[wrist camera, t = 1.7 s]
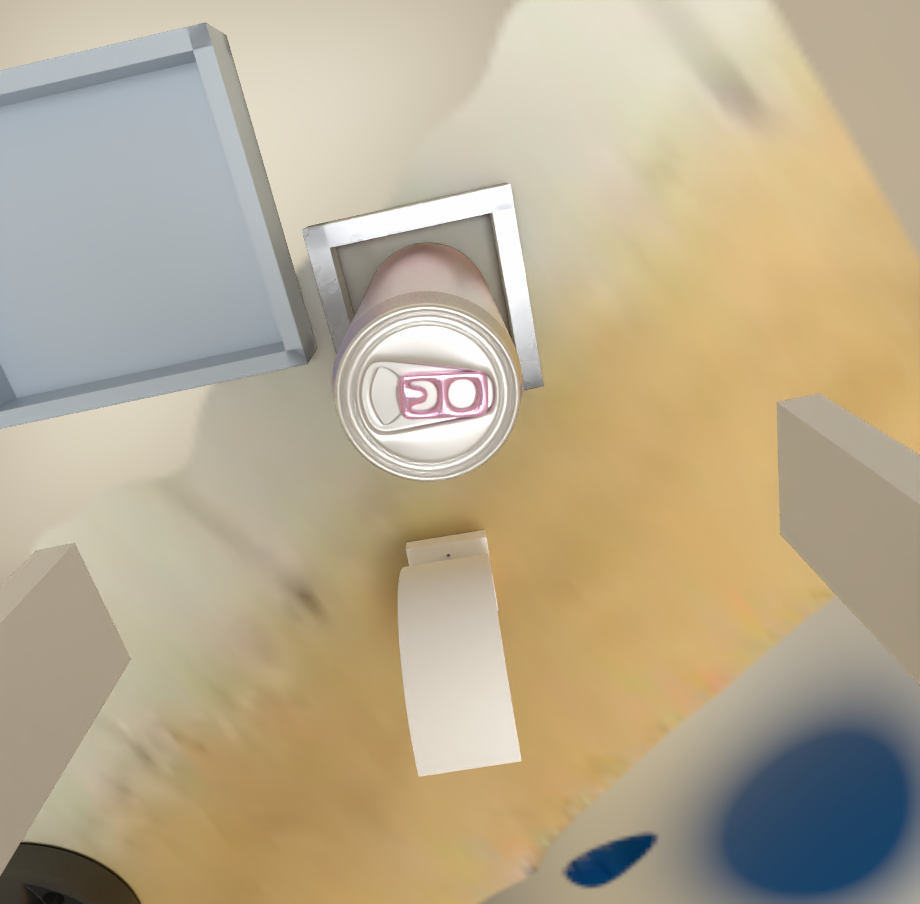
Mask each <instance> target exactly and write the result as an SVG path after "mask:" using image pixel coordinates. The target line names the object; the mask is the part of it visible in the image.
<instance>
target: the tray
mask: <svg viewBox="0 0 920 904" xmlns="http://www.w3.org/2000/svg"><path fill="white" fill-rule="evenodd" d="M316 349H317V346H316V343H315V340H314V336H313V333H312V329H311V326H310V322H309V319H308V315H307V312H306V309H305V305H304V302H303V298H302V295H301V291H300V288H299V284H298V281H297V277H296V274H295V271H294V267H293V264H292V260H291V257H290V253H289V250H288V247H287V243H286V240H285V236H284V233H283V229H282V226H281V222H280V219H279V216H278V212H277V209H276V205H275V202H274V198H273V195H272V192H271V188H270V184H269V181H268V177H267V174H266V171H265V167H264V164H263V160H262V157H261V153H260V150H259V146H258V143H257V140H256V136H255V133H254V129H253V126H252V122H251V119H250V115H249V112H248V109H247V105H246V102H245V98H244V95H243V91H242V88H241V84H240V81H239V77H238V74H237V71H236V67H235V64H234V60H233V57H232V53H231V50H230V46H229V43H228V40H227V36H226V35H225V34H223V33H222V32H220V31H219V30H217V29H215V28H214V27H212V26H210V25H209V24H207V23H202V24H198V25H193V26H189V27H184V28H180V29H177V30H172V31H167V32H163V33H159V34H154V35H150V36H146V37H142V38H138V39H133V40H129V41H124V42H120V43H116V44H112V45H107V46H103V47H99V48H95V49H90V50H86V51H81V52H77V53H73V54H69V55H64V56H60V57H56V58H52V59H47V60H43V61H39V62H34V63H30V64H26V65H21V66H17V67H13V68H9V69H4V70H0V429H2V428H7V427H11V426H16V425H21V424H25V423H30V422H35V421H39V420H44V419H49V418H54V417H58V416H63V415H68V414H73V413H77V412H82V411H86V410H92V409H97V408H101V407H105V406H110V405H115V404H120V403H124V402H129V401H134V400H139V399H144V398H149V397H153V396H158V395H163V394H167V393H172V392H176V391H182V390H187V389H191V388H196V387H201V386H205V385H210V384H215V383H220V382H224V381H229V380H234V379H239V378H243V377H248V376H253V375H258V374H262V373H267V372H272V371H276V370H281V369H286V368H291V367H295V366H300V365H305V364H308V362H309V361H310V359H311V357H312V356H313V354H314V352H315V351H316Z"/></svg>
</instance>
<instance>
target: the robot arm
mask: <svg viewBox="0 0 920 904" xmlns="http://www.w3.org/2000/svg"><path fill="white" fill-rule="evenodd" d="M777 435H778V471H779V508H780V535H781V536H782V537H783V538H784V539H785V540H786V541H787V542H788V543H789V544H790V545H791V547H792V548H793V549H794V550H795V551H796V552H797V553H798V554H799V555H800V556H801V557H802V558H803V560H804V561H805V562H806V563H807V564H808V565H809V566H810V567H811V568H812V569H813V570H814V572H815V573H816V574H817V575H818V576H819V577H820V578H821V579H822V580H823V581H824V582H825V583H826V585H827V586H828V587H829V588H830V589H831V590H832V591H833V592H834V593H835V594H836V595H837V597H838V598H839V599H840V600H841V601H842V602H843V603H844V604H845V605H846V606H847V607H848V608H849V609H850V611H851V612H852V613H853V614H854V615H855V616H856V617H857V618H858V619H859V620H860V622H861V623H863V625H864V626H865V627H866V628H867V629H868V630H869V631H870V632H871V633H872V634H873V636H875V638H876V639H877V640H878V641H879V642H880V643H881V644H882V645H883V647H884V648H885V649H886V650H888V652H889V653H890V654H891V655H892V656H893V657H894V658H895V660H897V662H898V663H899V664H900V665H901V666H902V667H903V668H904V669H905V670H906V672H907V673H908V674H909V675H910V676H911V677H912V678H913V679H914V680H915V681H916V682H917V683H918V685H920V455H919V454H918V453H916V452H914V451H913V450H911V449H909V448H908V447H906V446H905V445H903V444H901V443H900V442H898V441H896V440H895V439H893V438H891V437H890V436H888V435H887V434H885V433H883V432H882V431H880V430H878V429H877V428H875V427H873V426H872V425H870V424H869V423H867V422H865V421H864V420H862V419H860V418H859V417H857V416H856V415H854V414H852V413H851V412H849V411H847V410H846V409H844V408H842V407H841V406H839V405H838V404H836V403H834V402H833V401H831V400H829V399H828V398H826V397H824V396H823V395H821V394H815V395H810V396H805V397H800V398H795V399H790V400H785V401H780V402H777ZM130 660H131V659H130V656H129V654H128V652H127V650H126V648H125V646H124V644H123V642H122V640H121V638H120V636H119V634H118V632H117V630H116V627H115V625H114V623H113V621H112V619H111V617H110V615H109V613H108V611H107V609H106V607H105V605H104V603H103V601H102V598H101V596H100V594H99V592H98V590H97V588H96V586H95V584H94V582H93V580H92V578H91V576H90V574H89V572H88V569H87V567H86V565H85V563H84V561H83V559H82V557H81V555H80V553H79V551H78V549H77V547H76V545H75V543H72V544H67V545H62V546H57V547H52V548H47V549H42V550H37V551H35V552H34V553H33V554H32V555H31V556H30V557H29V558H28V559H27V560H26V561H25V562H24V563H23V564H22V565H21V566H20V567H19V568H18V569H17V570H16V571H15V572H14V573H13V574H12V575H11V576H10V577H9V578H8V579H7V580H6V581H5V582H4V583H3V584H2V585H1V586H0V904H139V903H138V901H137V899H136V898H135V896H134V895H133V893H132V892H131V891H130V890H129V888H128V887H127V886H126V885H125V884H124V883H123V882H122V881H121V880H119V879H118V878H117V877H116V876H115V875H113V874H112V873H111V872H109V871H108V870H106V869H104V868H103V867H101V866H99V865H98V864H96V863H94V862H92V861H90V860H88V859H85V858H83V857H81V856H78V855H75V854H72V853H69V852H66V851H62V850H59V849H54V848H49V847H44V846H36V845H24V844H20V842H21V841H22V839H23V837H24V836H25V834H26V832H27V831H28V829H29V827H30V826H31V824H32V822H33V821H34V819H35V817H36V816H37V814H38V812H39V811H40V809H41V807H42V806H43V804H44V802H45V801H46V799H47V798H48V796H49V794H50V793H51V791H52V789H53V788H54V786H55V784H56V783H57V781H58V779H59V778H60V776H61V774H62V773H63V771H64V769H65V768H66V766H67V764H68V763H69V761H70V759H71V758H72V756H73V754H74V753H75V751H76V749H77V748H78V746H79V744H80V743H81V741H82V739H83V738H84V736H85V734H86V733H87V731H88V729H89V728H90V726H91V724H92V723H93V721H94V719H95V718H96V716H97V714H98V713H99V711H100V709H101V708H102V706H103V704H104V703H105V701H106V699H107V698H108V696H109V694H110V693H111V691H112V689H113V688H114V686H115V684H116V683H117V681H118V679H119V678H120V676H121V674H122V673H123V671H124V670H125V668H126V666H127V665H128V663H129V661H130Z"/></svg>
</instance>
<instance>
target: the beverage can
mask: <svg viewBox="0 0 920 904" xmlns="http://www.w3.org/2000/svg"><path fill="white" fill-rule="evenodd" d="M522 383H523V382H522V370H521V364H520V360H519V357H518V353H517V351H516V348H515V346H514V344H513V342H512V339H511V337H510V335H509V333H508V331H507V328H506V326H505V324H504V322H503V320H502V317H501V315H500V313H499V311H498V309H497V306H496V304H495V302H494V300H493V298H492V295H491V293H490V291H489V289H488V287H487V284H486V282H485V280H484V278H483V276H482V274H481V273H480V271H479V270H478V268H477V267H476V266H475V264H474V263H473V262H472V261H471V260H470V259H469V258H467V257H466V256H465V255H464V254H462V253H460V252H459V251H457V250H455V249H453V248H451V247H448V246H445V245H441V244H435V243H421V244H415V245H411V246H408V247H405V248H403V249H401V250H399V251H397V252H395V253H394V254H392V255H391V256H390V257H389V258H388V259H386V260H385V261H384V262H383V263H382V265H381V266H380V267H379V269H378V270H377V271H376V273H375V275H374V277H373V279H372V281H371V283H370V285H369V287H368V289H367V291H366V293H365V295H364V298H363V300H362V302H361V304H360V306H359V308H358V310H357V312H356V314H355V316H354V318H353V320H352V322H351V324H350V327H349V329H348V331H347V333H346V335H345V337H344V339H343V341H342V343H341V345H340V347H339V350H338V353H337V356H336V359H335V363H334V369H333V394H334V400H335V405H336V410H337V414H338V418H339V421H340V423H341V426H342V428H343V430H344V432H345V434H346V436H347V438H348V439H349V441H350V442H351V443H352V445H353V446H354V447H355V449H356V450H357V451H358V452H359V453H360V454H361V455H362V456H363V457H364V458H365V459H367V460H368V461H369V462H370V463H372V464H373V465H375V466H376V467H378V468H379V469H381V470H383V471H385V472H387V473H389V474H391V475H394V476H397V477H400V478H404V479H408V480H414V481H424V482H432V481H442V480H448V479H452V478H456V477H459V476H462V475H464V474H467V473H469V472H471V471H473V470H475V469H476V468H478V467H480V466H481V465H483V464H484V463H485V462H487V461H488V460H489V459H490V458H491V457H492V456H494V455H495V454H496V452H497V451H498V450H499V449H500V448H501V447H502V445H503V444H504V443H505V441H506V440H507V438H508V436H509V435H510V433H511V431H512V429H513V427H514V424H515V421H516V418H517V415H518V411H519V405H520V401H521V396H522Z"/></svg>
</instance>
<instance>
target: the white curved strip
mask: <svg viewBox="0 0 920 904" xmlns="http://www.w3.org/2000/svg"><path fill="white" fill-rule="evenodd" d="M406 553H407V558H408V563H409V566H407V567H403V568H402V570H401V572H400V576H399V584H398V629H399V645H400V657H401V668H402V678H403V686H404V695H405V702H406V710H407V716H408V723H409V729H410V735H411V741H412V746H413V752H414V757H415V761H416V766H417V770H418V775H419V777H421V776H427V775H434V774H440V773H447V772H453V771H460V770H467V769H473V768H480V767H486V766H493V765H499V764H506V763H512V762H519V761H521V755H520V748H519V742H518V736H517V730H516V724H515V718H514V712H513V706H512V700H511V694H510V688H509V681H508V675H507V669H506V663H505V657H504V650H503V644H502V638H501V631H500V625H499V619H498V612H497V610H498V604H497V598H496V592H495V586H494V580H493V574H492V568H491V562H490V556H489V550H488V544H487V538H486V532H485V530H480V531H474V532H468V533H461V534H455V535H449V536H443V537H437V538H430V539H424V540H418V541H412V542H406Z"/></svg>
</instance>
